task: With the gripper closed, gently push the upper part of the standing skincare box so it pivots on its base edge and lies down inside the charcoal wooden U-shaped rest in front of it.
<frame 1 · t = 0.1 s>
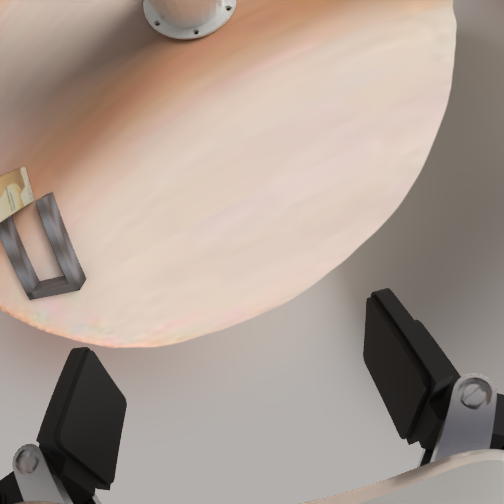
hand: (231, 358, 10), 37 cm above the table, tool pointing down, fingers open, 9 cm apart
u rest: (42, 245, 45), on the table
skincare box: (21, 185, 40), on the table
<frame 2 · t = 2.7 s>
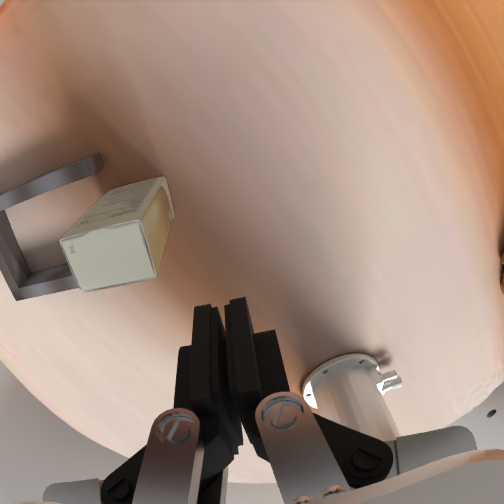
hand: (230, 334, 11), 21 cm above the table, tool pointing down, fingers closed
u rest: (55, 227, 29), on the table
skincare box: (143, 201, 30), on the table
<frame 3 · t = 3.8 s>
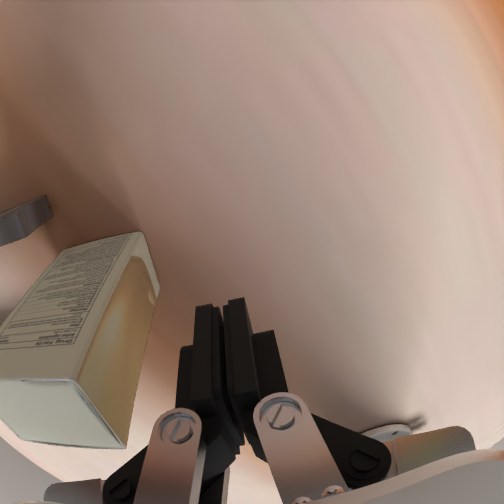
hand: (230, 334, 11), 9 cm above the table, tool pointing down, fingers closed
u rest: (4, 292, 19), on the table
skincare box: (113, 266, 19), on the table
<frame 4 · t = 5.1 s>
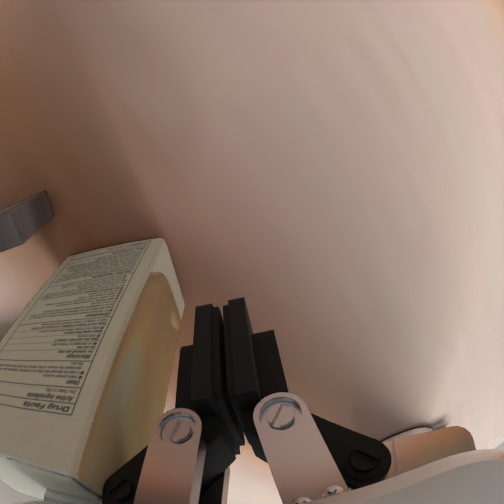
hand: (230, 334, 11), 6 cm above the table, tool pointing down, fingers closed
u rest: (0, 305, 16), on the table
skincare box: (128, 277, 16), on the table, touching gripper
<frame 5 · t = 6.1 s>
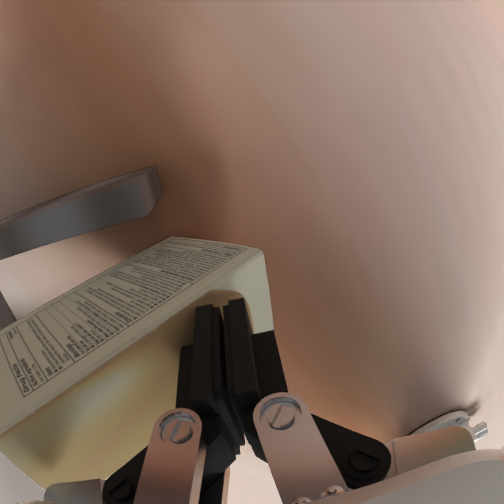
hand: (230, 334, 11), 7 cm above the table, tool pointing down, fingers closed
u rest: (70, 293, 18), on the table
skincare box: (225, 277, 16), point 2 cm above the table, touching gripper
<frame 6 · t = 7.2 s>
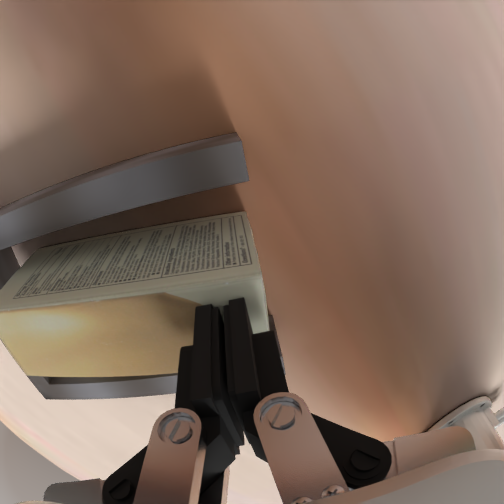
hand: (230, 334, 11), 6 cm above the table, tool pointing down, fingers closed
u rest: (117, 278, 16), on the table
skincare box: (265, 279, 13), point 3 cm above the table, touching gripper
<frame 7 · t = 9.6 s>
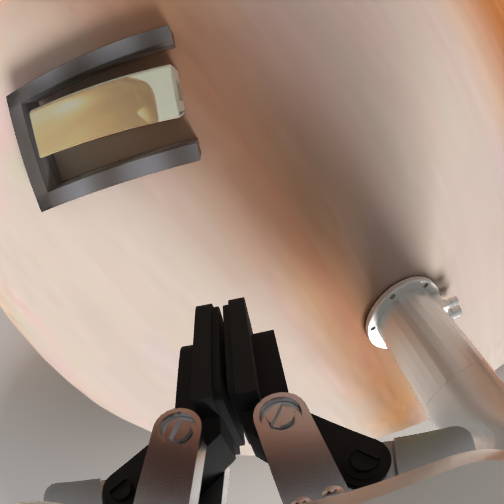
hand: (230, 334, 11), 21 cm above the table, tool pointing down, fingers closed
u rest: (104, 118, 25), on the table
skincare box: (181, 90, 22), point 3 cm above the table
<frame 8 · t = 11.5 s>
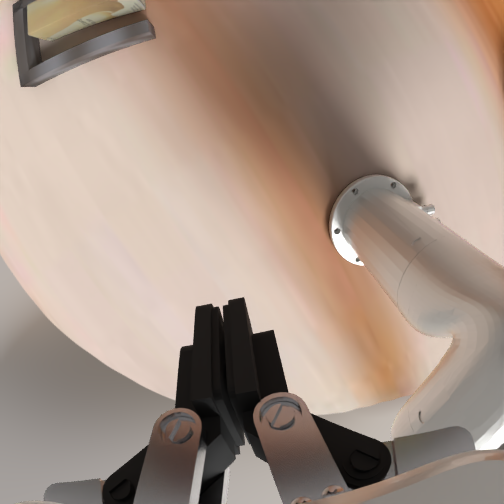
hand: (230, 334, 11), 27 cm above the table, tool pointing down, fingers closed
u rest: (83, 18, 24), on the table
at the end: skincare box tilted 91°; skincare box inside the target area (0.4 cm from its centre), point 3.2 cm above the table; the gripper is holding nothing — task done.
